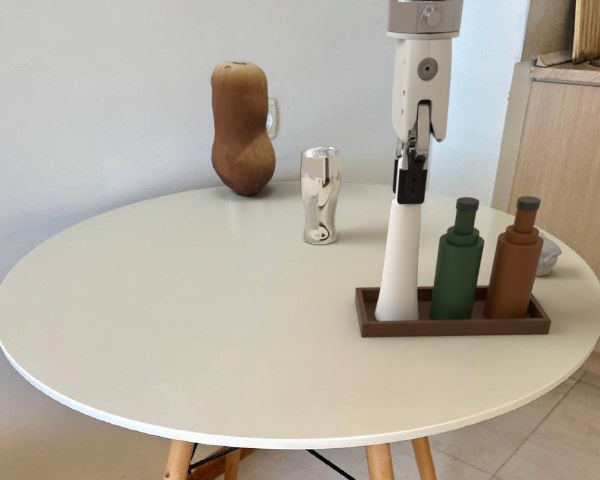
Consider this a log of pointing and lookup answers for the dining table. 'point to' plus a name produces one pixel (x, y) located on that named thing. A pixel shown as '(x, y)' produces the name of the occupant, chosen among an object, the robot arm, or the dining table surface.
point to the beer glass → (320, 192)
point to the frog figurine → (547, 256)
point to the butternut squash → (241, 127)
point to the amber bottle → (515, 264)
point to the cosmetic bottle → (400, 262)
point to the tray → (426, 326)
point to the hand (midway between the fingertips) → (407, 196)
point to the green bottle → (458, 265)
